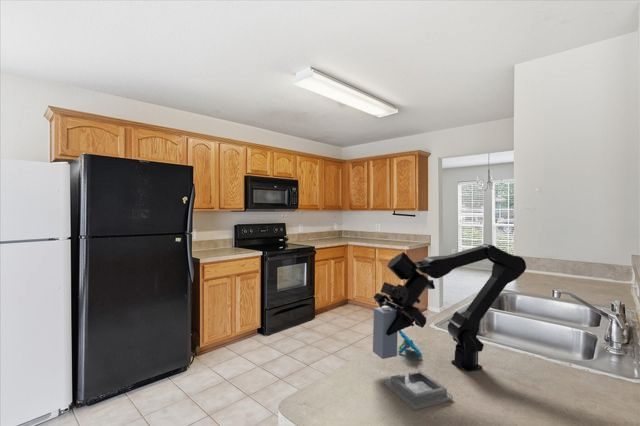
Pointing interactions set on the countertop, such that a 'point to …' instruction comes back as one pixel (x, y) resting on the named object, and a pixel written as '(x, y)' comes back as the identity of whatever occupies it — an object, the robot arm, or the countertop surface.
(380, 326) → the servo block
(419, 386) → the grey square tray
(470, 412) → the countertop surface
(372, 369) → the countertop surface
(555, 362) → the countertop surface
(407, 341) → the gear
